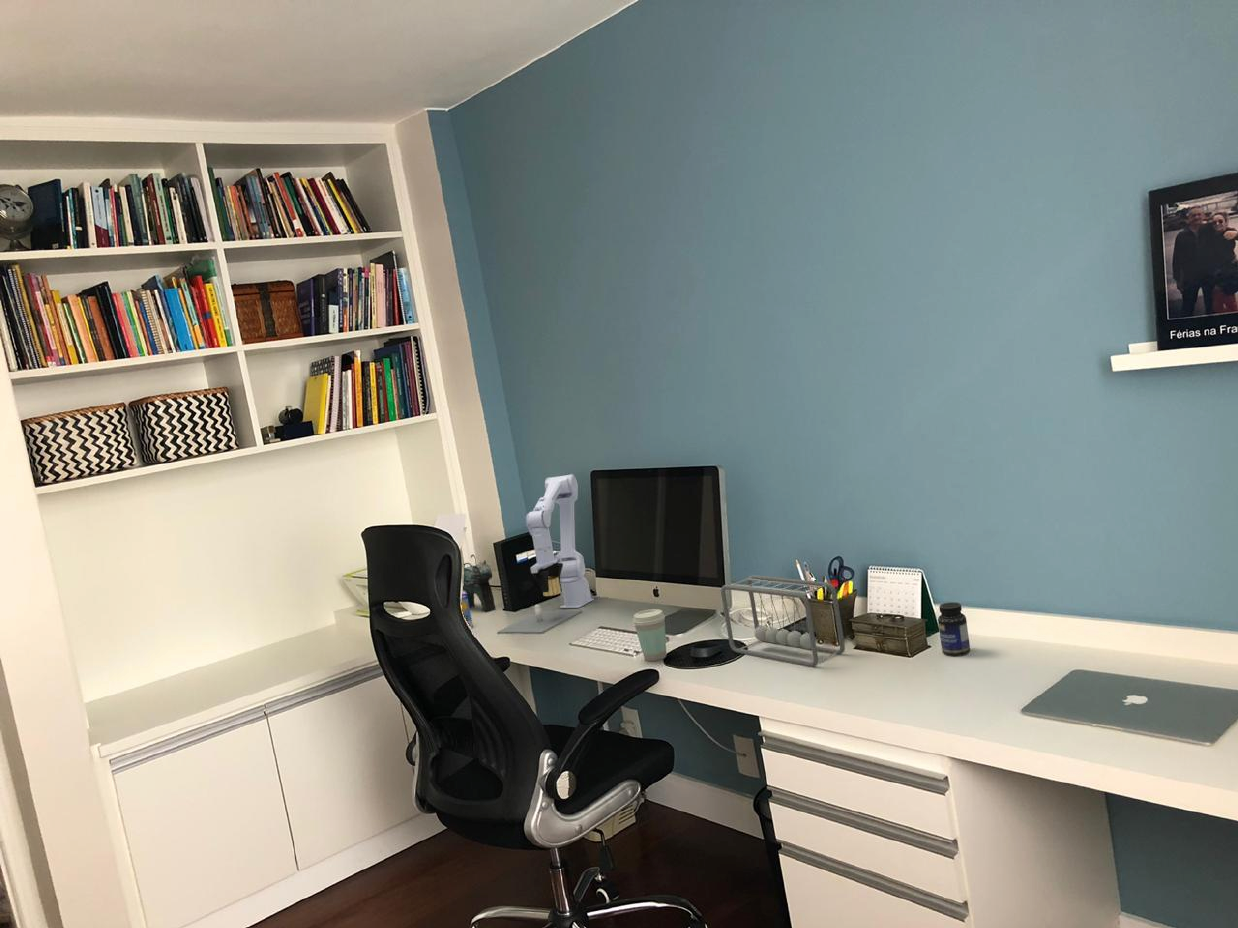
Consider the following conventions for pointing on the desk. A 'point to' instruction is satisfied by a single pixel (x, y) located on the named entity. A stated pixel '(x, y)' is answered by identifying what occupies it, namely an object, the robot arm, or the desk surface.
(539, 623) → the grey square plate
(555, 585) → the wooden link ring
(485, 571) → the toy ray gun
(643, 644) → the coffee cup
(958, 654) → the pill bottle
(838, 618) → the newton's cradle
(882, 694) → the desk surface
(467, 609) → the ink cartridge box
